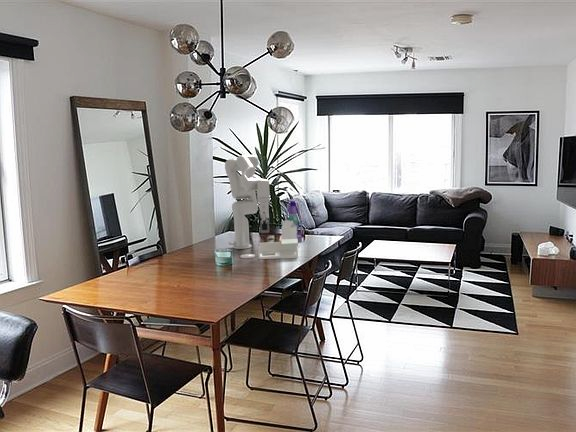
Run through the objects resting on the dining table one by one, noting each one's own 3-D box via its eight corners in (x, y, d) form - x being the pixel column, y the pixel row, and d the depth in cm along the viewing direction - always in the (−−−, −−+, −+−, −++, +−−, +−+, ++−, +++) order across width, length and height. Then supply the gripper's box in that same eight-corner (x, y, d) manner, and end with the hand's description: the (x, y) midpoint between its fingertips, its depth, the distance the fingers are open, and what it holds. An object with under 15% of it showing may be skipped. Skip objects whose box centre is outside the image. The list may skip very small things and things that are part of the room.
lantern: (289, 243, 391) (288, 200, 387) (281, 241, 401) (280, 199, 397) (306, 241, 397) (304, 198, 393) (298, 239, 407) (296, 197, 403)
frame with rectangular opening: (258, 259, 344) (257, 247, 343) (259, 254, 359) (259, 242, 358) (298, 257, 344) (297, 245, 343) (297, 252, 359) (297, 241, 358)
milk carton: (290, 250, 366) (289, 221, 364) (282, 249, 370) (281, 221, 368) (297, 248, 372) (296, 220, 369) (288, 248, 376) (287, 219, 373)
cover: (279, 246, 343) (279, 240, 343) (280, 241, 358) (280, 236, 358) (298, 245, 343) (297, 239, 343) (297, 240, 358) (297, 235, 358)
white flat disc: (239, 258, 348) (239, 257, 347) (241, 255, 356) (241, 254, 356) (254, 258, 347) (254, 256, 347) (255, 255, 356) (255, 253, 356)
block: (260, 232, 347) (260, 221, 346) (261, 231, 352) (260, 220, 351) (268, 232, 347) (268, 221, 346) (269, 231, 352) (268, 220, 351)
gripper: (269, 201, 339) (270, 231, 341) (270, 198, 356) (271, 226, 358) (256, 201, 339) (258, 231, 341) (258, 198, 356) (259, 227, 358)
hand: (264, 228), depth 350 cm, fingers closed on block, 5 cm apart
